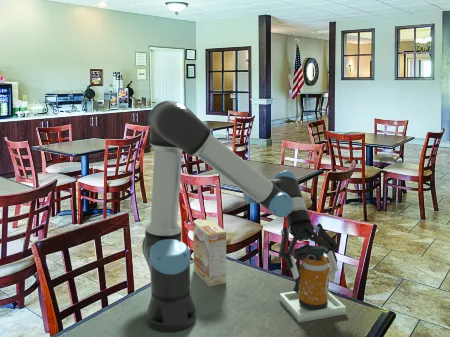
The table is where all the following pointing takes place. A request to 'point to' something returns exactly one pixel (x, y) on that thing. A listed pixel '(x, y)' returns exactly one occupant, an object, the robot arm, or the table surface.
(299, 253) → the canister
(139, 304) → the table surface
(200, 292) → the table surface
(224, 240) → the coffeecake box
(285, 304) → the tray
